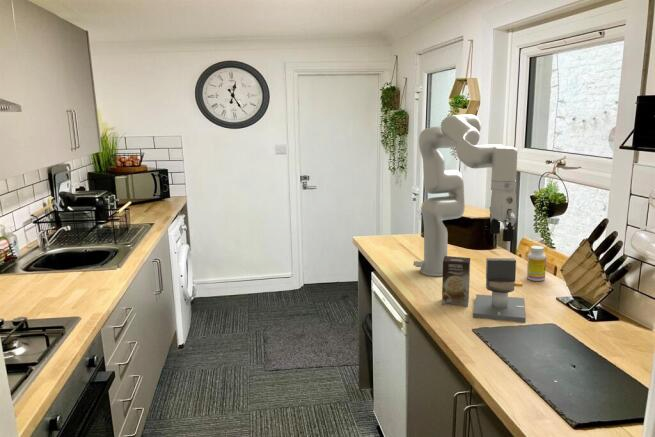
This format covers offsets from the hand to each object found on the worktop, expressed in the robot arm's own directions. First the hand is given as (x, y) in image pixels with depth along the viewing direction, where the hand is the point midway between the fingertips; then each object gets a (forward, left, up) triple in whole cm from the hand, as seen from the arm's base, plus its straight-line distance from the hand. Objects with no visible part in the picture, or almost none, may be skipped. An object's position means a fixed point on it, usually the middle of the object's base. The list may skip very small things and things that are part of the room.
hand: (501, 237), depth 169 cm
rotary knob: (+1, 0, -18) cm, 18 cm away
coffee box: (-14, +3, -25) cm, 29 cm away
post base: (0, 0, -25) cm, 25 cm away
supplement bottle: (+13, +36, -25) cm, 46 cm away
